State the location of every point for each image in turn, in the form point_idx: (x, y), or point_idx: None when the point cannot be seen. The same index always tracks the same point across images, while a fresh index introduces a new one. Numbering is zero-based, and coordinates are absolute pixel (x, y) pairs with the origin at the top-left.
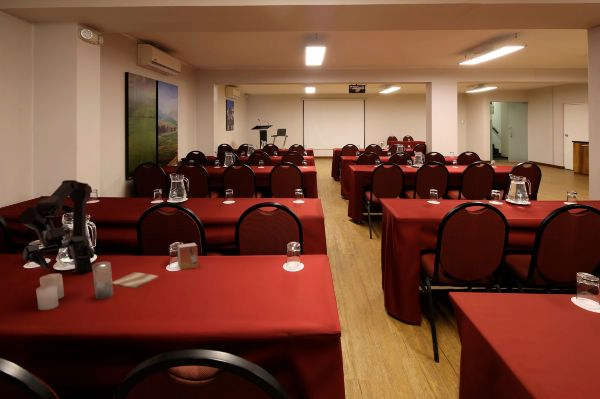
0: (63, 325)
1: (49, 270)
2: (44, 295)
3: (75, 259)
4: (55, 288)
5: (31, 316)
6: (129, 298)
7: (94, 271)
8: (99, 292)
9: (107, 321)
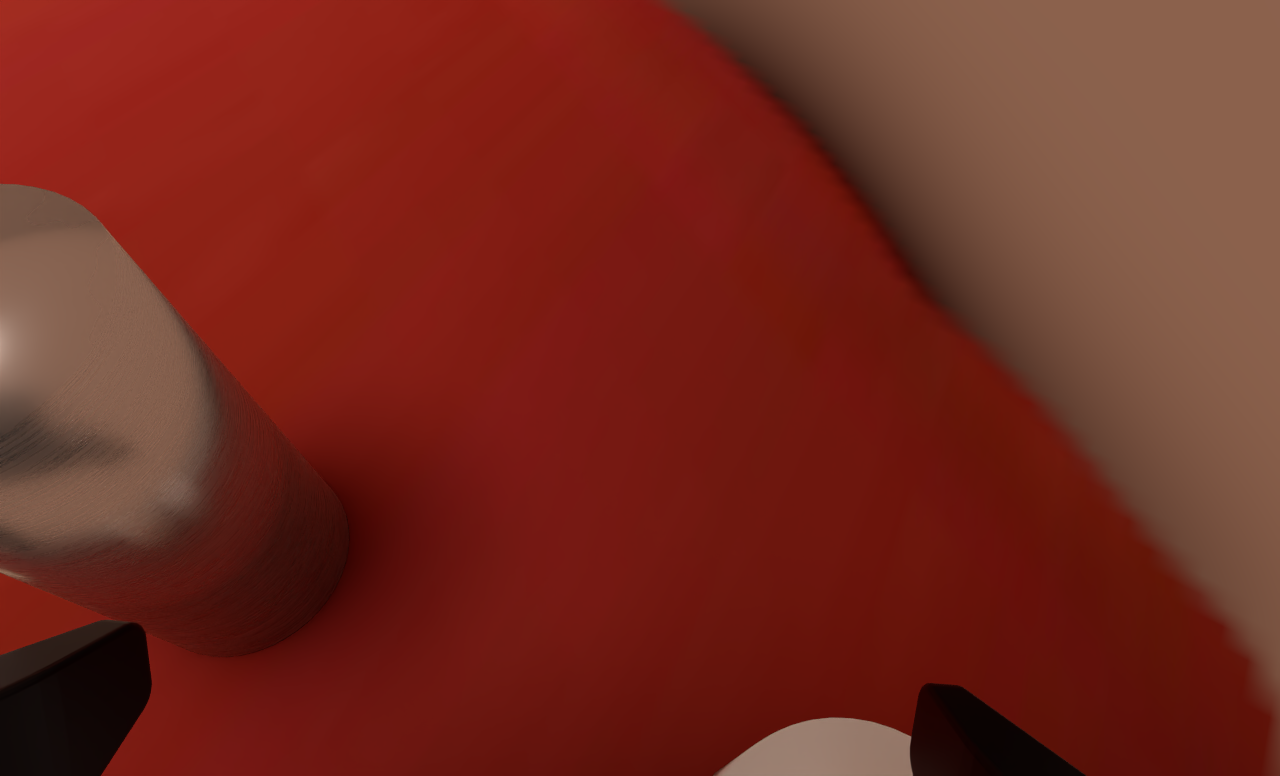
0: (859, 282)
1: (920, 722)
2: None
3: (49, 688)
4: (742, 754)
5: None
6: (226, 287)
7: (169, 367)
8: (315, 476)
9: (624, 108)
